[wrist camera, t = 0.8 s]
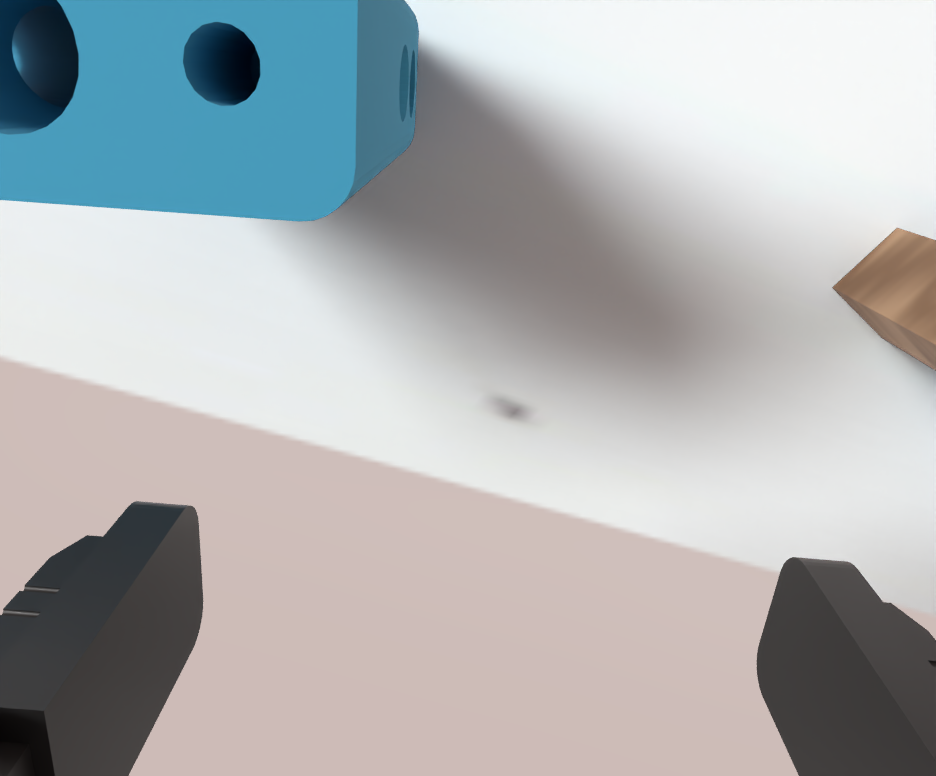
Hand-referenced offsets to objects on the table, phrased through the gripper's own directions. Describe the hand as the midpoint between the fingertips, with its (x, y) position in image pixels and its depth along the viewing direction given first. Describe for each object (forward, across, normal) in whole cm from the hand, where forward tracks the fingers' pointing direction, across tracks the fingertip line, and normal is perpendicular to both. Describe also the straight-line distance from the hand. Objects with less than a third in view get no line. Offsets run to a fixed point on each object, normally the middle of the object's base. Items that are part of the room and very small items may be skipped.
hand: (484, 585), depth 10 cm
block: (+25, +9, -6) cm, 27 cm away
